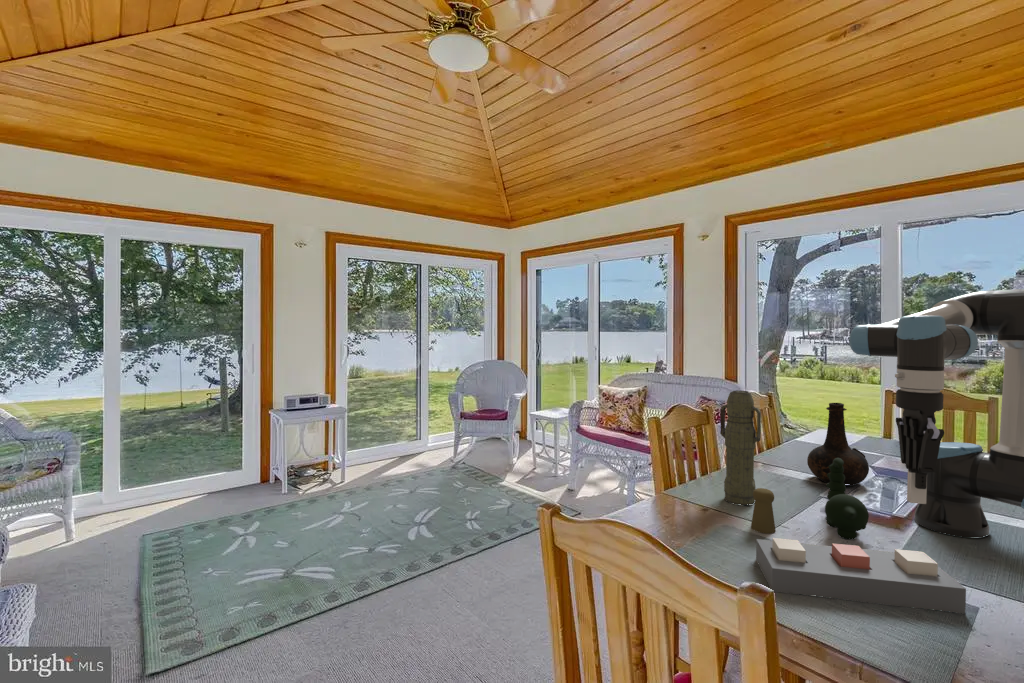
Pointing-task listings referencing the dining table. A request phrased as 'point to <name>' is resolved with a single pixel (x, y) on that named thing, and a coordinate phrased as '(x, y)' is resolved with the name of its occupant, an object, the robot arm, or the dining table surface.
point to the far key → (788, 550)
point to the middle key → (850, 556)
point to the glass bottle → (837, 451)
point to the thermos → (740, 446)
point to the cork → (763, 511)
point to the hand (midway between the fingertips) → (916, 502)
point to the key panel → (860, 580)
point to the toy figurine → (843, 505)
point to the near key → (915, 562)
